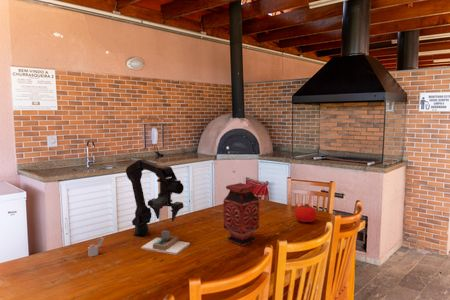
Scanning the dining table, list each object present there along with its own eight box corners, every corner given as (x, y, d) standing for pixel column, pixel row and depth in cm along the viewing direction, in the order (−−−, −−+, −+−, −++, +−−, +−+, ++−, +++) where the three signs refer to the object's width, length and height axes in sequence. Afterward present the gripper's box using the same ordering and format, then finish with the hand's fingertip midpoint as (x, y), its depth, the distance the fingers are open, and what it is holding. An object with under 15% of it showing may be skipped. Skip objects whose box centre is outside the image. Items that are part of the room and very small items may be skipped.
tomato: (318, 221, 216) (318, 204, 215) (311, 226, 206) (312, 209, 205) (298, 217, 224) (298, 201, 222) (291, 222, 213) (291, 206, 212)
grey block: (161, 245, 173) (161, 232, 172) (164, 243, 175) (164, 230, 175) (166, 246, 172) (166, 232, 171) (169, 244, 174) (169, 230, 174)
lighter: (89, 256, 161) (88, 240, 160) (88, 255, 162) (87, 239, 161) (104, 253, 165) (103, 237, 164) (103, 252, 166) (102, 236, 165)
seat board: (141, 248, 171) (141, 242, 170) (156, 239, 184) (156, 233, 183) (176, 255, 164) (176, 248, 163) (189, 244, 176) (189, 238, 176)
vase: (240, 234, 192) (241, 182, 189) (259, 241, 182) (260, 186, 179) (222, 240, 182) (223, 185, 179) (241, 248, 172) (242, 190, 169)
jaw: (154, 246, 170) (154, 243, 170) (164, 239, 179) (164, 236, 179) (156, 246, 170) (156, 243, 169) (167, 240, 179) (167, 236, 179)
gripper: (141, 192, 173) (141, 221, 174) (172, 196, 165) (172, 227, 167) (153, 187, 183) (153, 215, 185) (184, 191, 176) (183, 220, 177)
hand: (165, 220), depth 178 cm, fingers open, 9 cm apart
